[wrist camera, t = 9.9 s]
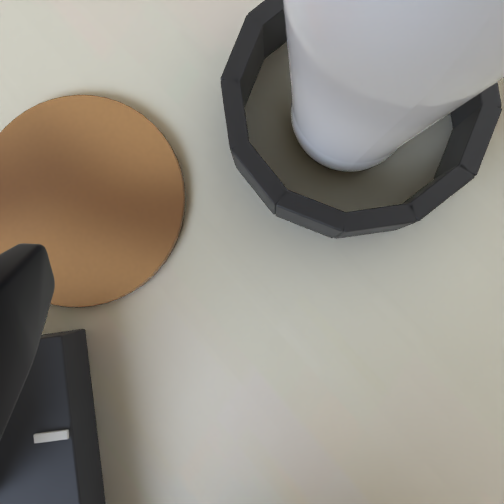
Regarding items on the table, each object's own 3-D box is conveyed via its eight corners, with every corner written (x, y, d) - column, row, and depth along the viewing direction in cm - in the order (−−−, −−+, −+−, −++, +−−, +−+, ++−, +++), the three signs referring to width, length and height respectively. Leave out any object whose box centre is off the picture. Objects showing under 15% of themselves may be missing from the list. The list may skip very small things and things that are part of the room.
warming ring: (485, 217, 21) (520, 207, 18) (247, 251, 22) (243, 247, 19) (445, -13, 22) (473, -59, 19) (215, 24, 22) (206, -15, 19)
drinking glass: (345, 220, 21) (516, 85, 6) (245, 116, 22) (189, -232, 7) (451, 120, 22) (864, -241, 7) (349, 19, 22) (517, -535, 7)
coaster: (198, 290, 22) (197, 291, 21) (-11, 320, 22) (-16, 321, 21) (171, 82, 22) (169, 79, 22) (-32, 114, 22) (-38, 111, 22)
